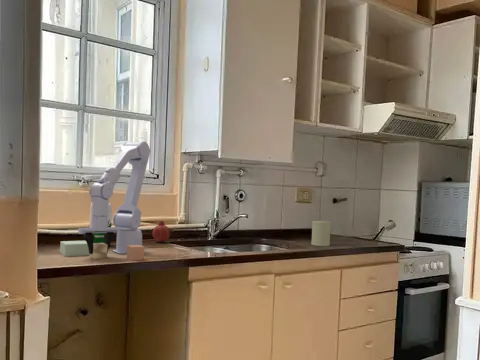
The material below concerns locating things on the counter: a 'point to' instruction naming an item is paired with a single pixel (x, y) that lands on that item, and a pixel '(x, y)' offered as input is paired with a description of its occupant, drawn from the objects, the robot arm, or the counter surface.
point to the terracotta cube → (135, 252)
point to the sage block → (74, 248)
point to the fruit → (161, 232)
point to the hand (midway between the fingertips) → (98, 253)
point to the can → (321, 233)
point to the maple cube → (99, 250)
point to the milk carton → (100, 236)
